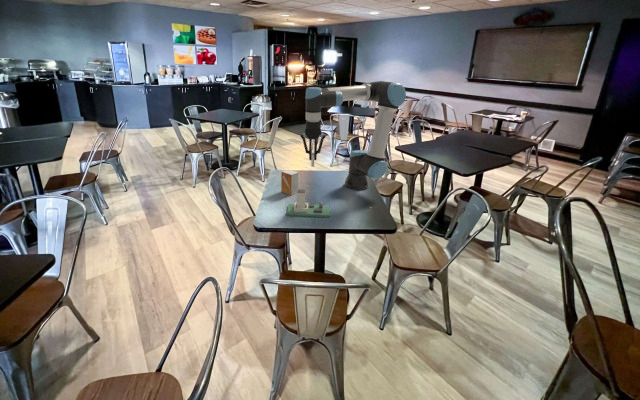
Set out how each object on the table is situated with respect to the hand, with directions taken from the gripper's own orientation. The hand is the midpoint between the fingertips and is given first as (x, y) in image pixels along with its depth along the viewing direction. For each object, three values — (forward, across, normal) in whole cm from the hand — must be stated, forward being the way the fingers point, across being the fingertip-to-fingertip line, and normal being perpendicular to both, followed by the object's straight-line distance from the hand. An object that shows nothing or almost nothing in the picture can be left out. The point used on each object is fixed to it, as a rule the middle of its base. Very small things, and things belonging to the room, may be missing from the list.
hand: (312, 165), depth 168 cm
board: (+22, +2, +9) cm, 24 cm away
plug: (+21, +6, +9) cm, 23 cm away
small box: (+23, +14, -16) cm, 31 cm away
